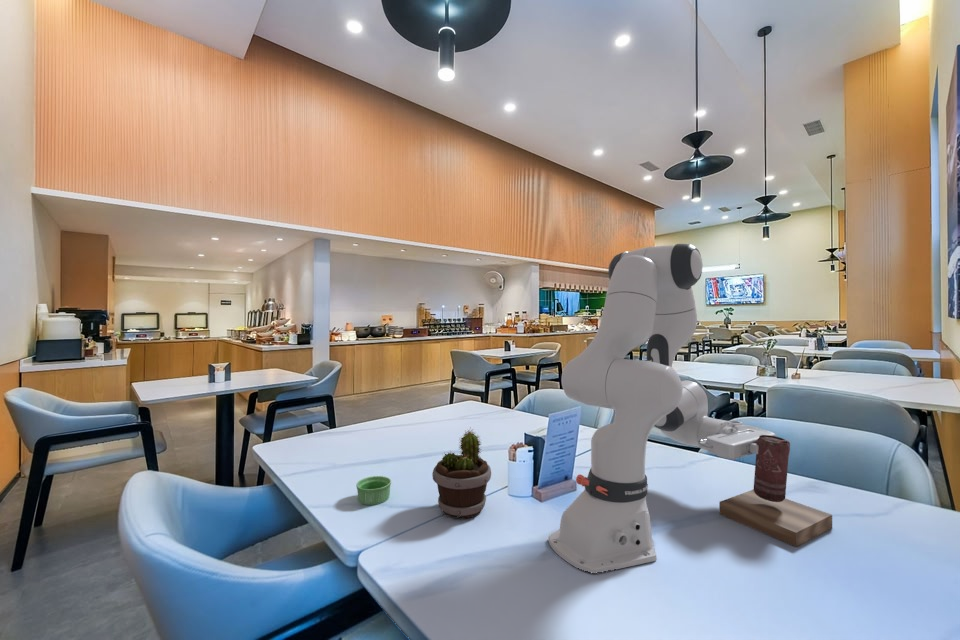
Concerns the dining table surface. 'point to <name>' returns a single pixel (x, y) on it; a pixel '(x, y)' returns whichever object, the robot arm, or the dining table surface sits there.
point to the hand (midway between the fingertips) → (777, 452)
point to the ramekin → (373, 490)
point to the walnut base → (777, 517)
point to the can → (771, 468)
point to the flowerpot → (462, 479)
